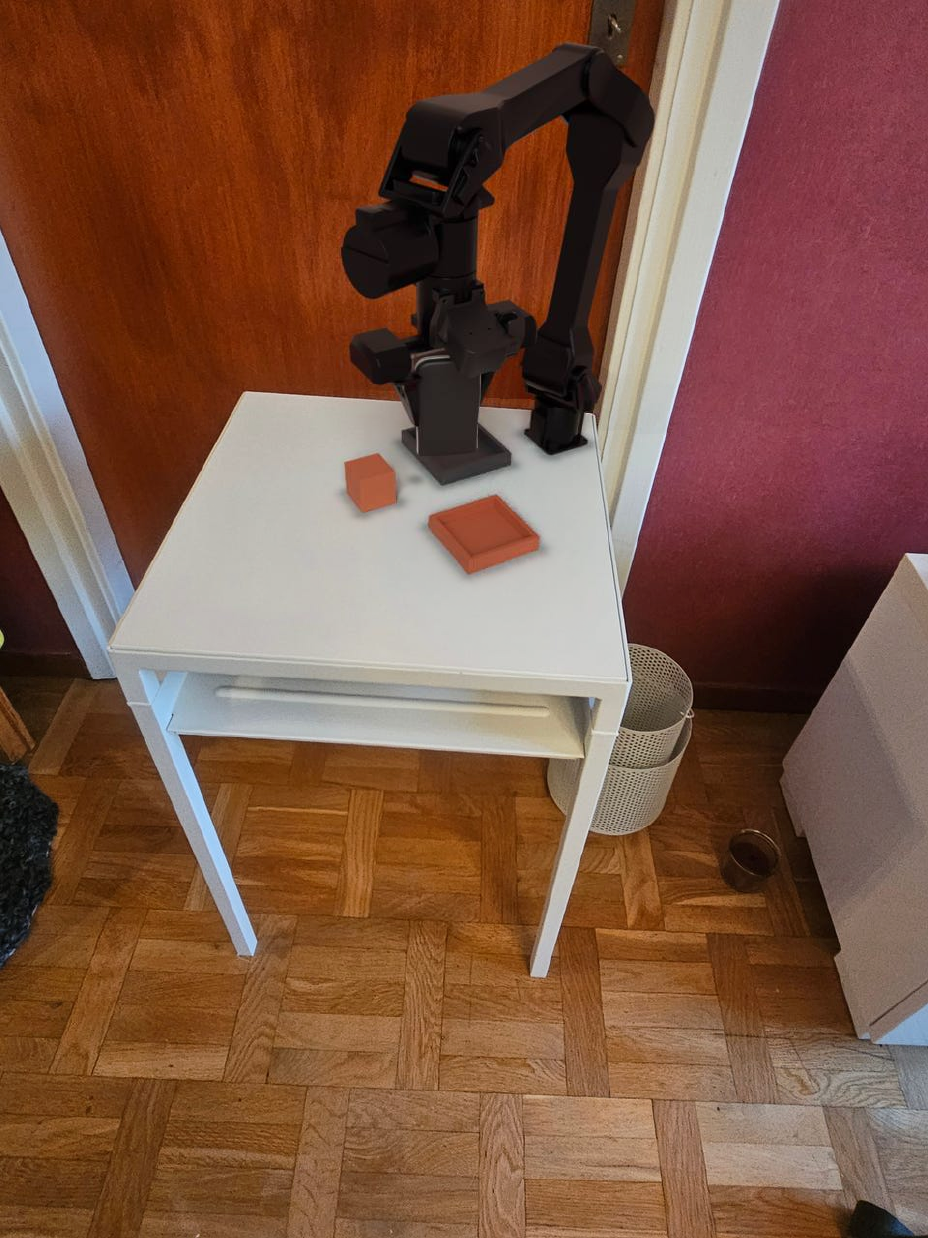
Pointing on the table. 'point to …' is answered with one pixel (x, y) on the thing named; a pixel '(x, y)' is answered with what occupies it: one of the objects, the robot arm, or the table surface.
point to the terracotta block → (370, 482)
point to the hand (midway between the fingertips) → (445, 416)
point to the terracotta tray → (483, 533)
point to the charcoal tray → (462, 457)
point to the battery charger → (446, 407)
